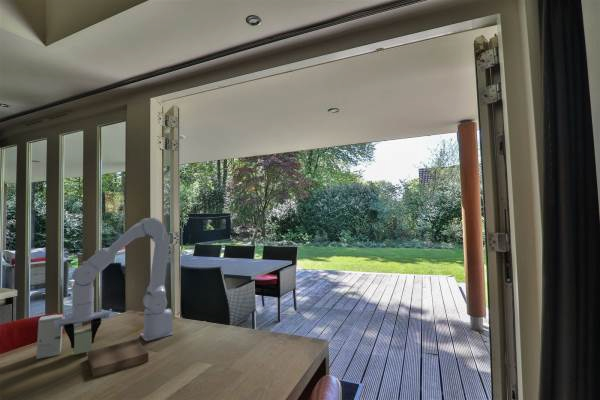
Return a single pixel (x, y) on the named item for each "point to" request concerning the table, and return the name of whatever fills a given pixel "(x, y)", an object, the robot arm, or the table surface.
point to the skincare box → (49, 336)
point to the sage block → (82, 341)
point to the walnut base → (116, 357)
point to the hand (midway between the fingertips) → (82, 344)
